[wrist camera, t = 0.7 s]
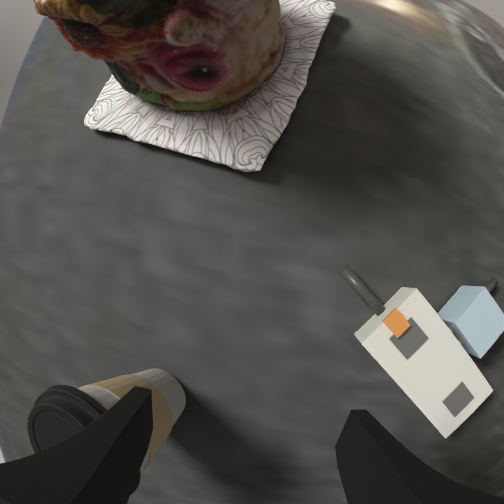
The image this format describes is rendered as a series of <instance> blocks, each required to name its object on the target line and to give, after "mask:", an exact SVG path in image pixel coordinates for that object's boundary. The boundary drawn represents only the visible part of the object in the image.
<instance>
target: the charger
mask: <svg viewBox="0 0 504 504" xmlns="http://www.w3.org/2000/svg"><path fill="white" fill-rule="evenodd" d="M497 283H498V280H497V278H495V277H493V278H492V279H491V281H490V282H489V283H488V285H487V286H486V287H481V286H461V287H460V288H459V289H458V290H457V292H456V293H455V294H454V295H453V296H452V297H451V299H450V300H449V301H448V302H447V303H446V304H445V306H444V307H443V308H442V309H441V310H440V311H439V312H438V313H437V314H438V315H439V317H440V318H441V319H442V320H443V322H444V323H445V324H446V325H447V327H448V328H449V329H450V331H451V332H452V333H453V335H454V336H455V337H456V339H457V340H458V341H459V343H460V344H461V345H462V347H463V348H464V349H465V351H466V352H468V353H470V354H472V355H474V356H476V357H478V358H480V359H481V358H482V357H483V356H484V354H485V353H486V352H487V351H488V350H489V348H490V347H491V346H492V345H493V344H494V342H495V341H496V340H497V338H498V337H499V336H500V335H501V333H502V332H503V331H504V314H503V313H502V311H501V309H500V308H499V306H498V305H497V303H496V302H495V300H494V299H493V297H492V296H491V295H490V292H491V291H492V289H493V288H494V287H495V285H496V284H497Z"/></svg>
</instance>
